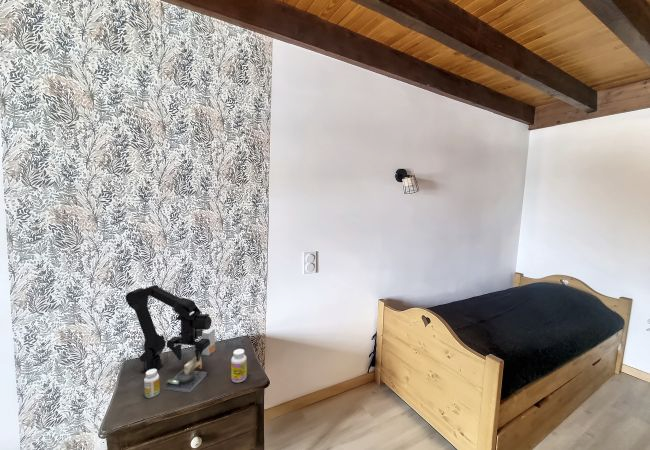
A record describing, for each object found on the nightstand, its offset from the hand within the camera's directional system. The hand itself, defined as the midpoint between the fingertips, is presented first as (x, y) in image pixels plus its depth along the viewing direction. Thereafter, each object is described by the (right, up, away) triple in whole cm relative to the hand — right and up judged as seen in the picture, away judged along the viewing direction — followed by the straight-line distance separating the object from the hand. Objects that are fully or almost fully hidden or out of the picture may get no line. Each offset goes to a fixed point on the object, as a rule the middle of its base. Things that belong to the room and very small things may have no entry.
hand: (189, 360), depth 130 cm
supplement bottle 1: (-8, -7, -14) cm, 18 cm away
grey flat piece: (+2, -6, -4) cm, 8 cm away
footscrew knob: (+3, -4, -4) cm, 7 cm away
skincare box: (+2, -4, +17) cm, 18 cm away
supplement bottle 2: (+25, -6, -4) cm, 26 cm away
